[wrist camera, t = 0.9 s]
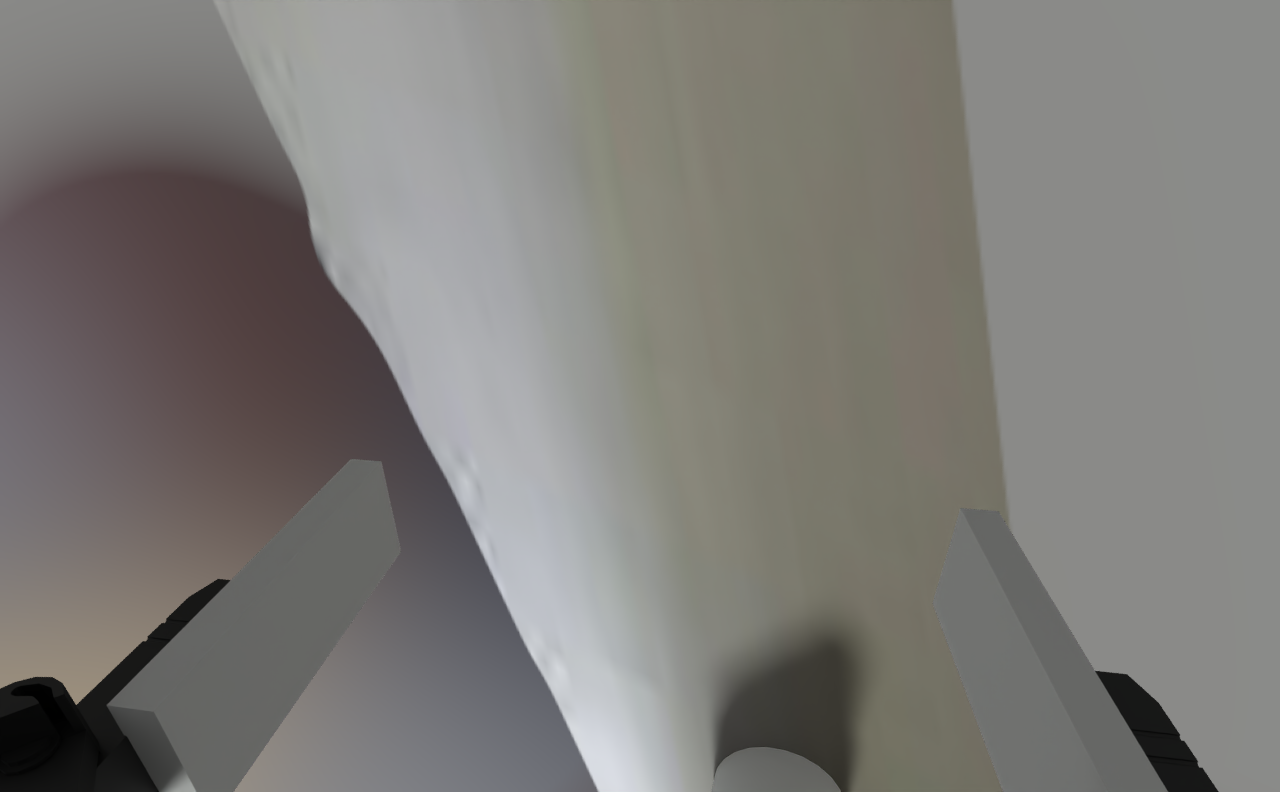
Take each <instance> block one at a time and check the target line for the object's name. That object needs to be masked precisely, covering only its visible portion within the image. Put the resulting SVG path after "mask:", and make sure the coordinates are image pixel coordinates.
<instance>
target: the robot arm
mask: <svg viewBox="0 0 1280 792" xmlns="http://www.w3.org/2000/svg"><path fill="white" fill-rule="evenodd" d="M400 552H401V549H400V545H399V540H398V535H397V531H396V526H395V522H394V517H393V513H392V509H391V503H390V499H389V494H388V490H387V485H386V481H385V477H384V472H383V467H382V463H381V462H380V461H367V460H354V459H351V460H350V461H349V462H348V463H347V464H346V465H345V466H344V467H343V468H342V469H341V470H340V471H339V472H338V473H337V474H336V475H335V476H334V477H333V478H332V479H331V480H330V481H329V482H328V483H327V484H326V485H325V486H324V487H323V488H322V489H321V490H320V491H319V492H318V493H317V494H316V495H315V496H314V497H313V498H312V499H311V500H310V501H309V502H308V503H307V504H306V505H305V506H304V507H303V508H302V509H301V510H300V511H299V512H298V513H297V514H296V515H295V516H294V517H293V518H292V519H291V520H290V521H289V522H288V523H287V524H286V525H285V526H284V527H283V528H282V529H281V530H280V531H279V532H278V533H277V534H276V535H275V536H274V537H273V538H272V539H271V540H270V541H269V542H268V544H266V545H265V547H263V548H262V550H260V552H258V553H257V554H256V555H255V556H254V557H253V559H251V561H249V562H248V563H247V564H246V565H245V567H244V568H243V569H242V570H241V571H240V572H239V573H238V574H237V575H236V576H235V577H234V578H233V579H232V580H223V579H217V580H216V581H214V582H213V583H211V584H209V585H208V586H206V587H204V588H203V589H201V590H200V591H198V592H196V593H195V594H193V595H191V596H190V597H189V598H188V599H186V600H185V601H184V602H183V603H182V604H181V605H180V606H179V607H178V608H177V609H176V610H175V611H174V612H173V613H172V614H171V615H170V616H169V617H168V618H167V619H166V622H165V623H161V625H159V626H158V628H156V629H155V630H154V631H153V632H152V633H151V634H150V635H149V636H148V640H147V641H146V642H145V641H143V642H142V643H141V644H139V645H138V647H136V648H135V649H134V650H133V652H131V653H130V654H129V655H128V656H127V657H126V658H125V659H124V660H123V661H122V662H121V663H120V664H119V665H118V666H117V667H116V668H115V669H113V670H112V671H111V672H110V674H108V675H107V676H106V677H105V678H104V679H103V680H102V681H101V682H100V683H99V684H98V685H97V686H96V687H95V688H94V689H93V690H92V691H91V692H89V693H88V694H87V695H86V696H85V697H84V699H82V700H81V701H80V702H79V703H78V704H77V705H76V704H75V703H74V701H73V699H72V698H71V697H70V695H69V693H68V691H67V690H66V688H65V687H64V685H63V683H61V682H60V681H58V680H56V679H55V678H53V677H34V678H30V679H26V680H22V681H18V682H14V683H12V684H10V685H8V686H5V687H3V688H1V689H0V792H233V791H234V790H235V789H236V788H237V786H238V784H239V783H240V782H241V780H242V779H243V777H244V776H245V775H246V773H247V772H248V770H249V769H250V767H251V766H252V765H253V763H254V762H255V760H256V759H257V757H258V756H259V754H260V753H261V751H262V750H263V749H264V747H265V746H266V744H267V743H268V742H269V740H270V738H271V737H272V736H273V734H274V733H275V732H276V730H277V729H278V727H279V726H280V724H281V723H282V722H283V720H284V719H285V717H286V716H287V714H288V713H289V712H290V710H291V709H292V707H293V706H294V704H295V703H296V701H297V700H298V699H299V697H300V696H301V694H302V693H303V691H304V690H305V688H306V687H307V686H308V684H309V683H310V681H311V680H312V679H313V677H314V676H315V674H316V673H317V671H318V670H319V668H320V667H321V666H322V664H323V663H324V661H325V660H326V658H327V657H328V656H329V654H330V652H331V651H332V650H333V648H334V647H335V645H336V644H337V643H338V641H339V640H340V638H341V637H342V635H343V634H344V633H345V631H346V630H347V628H348V627H349V625H350V624H351V623H352V621H353V619H354V618H355V617H356V615H357V614H358V612H359V611H360V610H361V608H362V607H363V605H364V604H365V602H366V601H367V600H368V598H369V597H370V595H371V594H372V592H373V591H374V590H375V588H376V587H377V585H378V584H379V582H380V581H381V580H382V578H383V577H384V575H385V574H386V572H387V571H388V569H389V568H390V567H391V565H392V564H393V562H394V561H395V559H396V558H397V557H398V555H399V554H400ZM933 606H934V608H935V611H936V614H937V616H938V619H939V622H940V624H941V627H942V630H943V632H944V635H945V638H946V641H947V643H948V646H949V649H950V651H951V654H952V657H953V659H954V662H955V665H956V667H957V670H958V673H959V675H960V678H961V681H962V683H963V686H964V689H965V691H966V694H967V697H968V699H969V702H970V705H971V707H972V710H973V713H974V715H975V718H976V721H977V723H978V726H979V729H980V731H981V734H982V737H983V739H984V742H985V745H986V747H987V750H988V753H989V755H990V758H991V761H992V763H993V766H994V769H995V771H996V774H997V777H998V779H999V782H1000V785H1001V787H1002V790H1003V792H1218V790H1217V789H1216V788H1215V786H1214V784H1213V783H1212V781H1211V780H1210V779H1209V777H1208V775H1207V774H1206V773H1205V771H1204V770H1203V768H1199V766H1198V764H1197V762H1198V761H1197V759H1196V758H1195V756H1194V755H1193V753H1192V752H1191V750H1190V749H1189V747H1188V746H1187V744H1186V743H1185V742H1184V741H1181V739H1180V734H1179V733H1178V731H1177V730H1176V728H1175V727H1174V725H1173V724H1172V722H1171V721H1170V719H1169V718H1168V716H1167V715H1166V713H1165V712H1164V710H1163V709H1162V707H1161V706H1160V704H1159V703H1158V702H1157V701H1156V700H1155V699H1154V698H1153V697H1151V696H1150V695H1149V694H1148V693H1147V692H1146V691H1145V690H1144V689H1143V688H1142V687H1140V686H1139V685H1138V684H1137V683H1136V682H1135V681H1134V680H1133V679H1131V678H1130V677H1129V676H1128V675H1127V674H1119V673H1109V672H1100V671H1095V670H1094V669H1093V667H1092V665H1091V664H1090V662H1089V660H1088V659H1087V657H1086V656H1085V654H1084V652H1083V650H1082V649H1081V647H1080V646H1079V644H1078V642H1077V640H1076V639H1075V637H1074V635H1073V634H1072V632H1071V630H1070V629H1069V627H1068V626H1067V624H1066V622H1065V621H1064V619H1063V617H1062V616H1061V614H1060V612H1059V611H1058V609H1057V607H1056V606H1055V604H1054V602H1053V601H1052V599H1051V597H1050V596H1049V594H1048V592H1047V591H1046V589H1045V587H1044V586H1043V584H1042V583H1041V581H1040V579H1039V577H1038V576H1037V574H1036V573H1035V571H1034V569H1033V568H1032V566H1031V564H1030V563H1029V561H1028V559H1027V558H1026V556H1025V554H1024V553H1023V551H1022V550H1021V548H1020V546H1019V544H1018V543H1017V541H1016V539H1015V538H1014V536H1013V534H1012V533H1011V531H1010V529H1009V528H1008V526H1007V525H1006V523H1005V521H1004V520H1003V518H1002V516H1001V515H1000V513H999V511H989V510H977V509H964V508H961V509H960V512H959V515H958V519H957V522H956V526H955V529H954V532H953V536H952V539H951V543H950V546H949V549H948V553H947V556H946V560H945V563H944V566H943V570H942V573H941V577H940V580H939V583H938V587H937V590H936V594H935V597H934V600H933Z"/></svg>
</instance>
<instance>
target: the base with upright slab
mask: <svg viewBox="0 0 1280 792" xmlns="http://www.w3.org/2000/svg"><path fill="white" fill-rule="evenodd" d="M711 792H841V790H840V788H839V787H838V786H837V784H836V783H835V782H834V780H833V779H832V777H831V776H830V775H828V774H827V773H826V772H825V771H824V770H823V769H821V768H820V767H819V766H818V765H816V764H815V763H813V762H811V761H809V760H808V759H806V758H804V757H803V756H800V755H797V754H795V753H792V752H789V751H786V750H782V749H776V748H770V747H752V748H747V749H743V750H739V751H736V752H734V753H732V754H731V755H729V756H728V757H726V758H724V760H723V761H722V762H721V763H720V765H719V766H718V767H717V770H716V773H715V777H714V781H713V786H712V791H711Z"/></svg>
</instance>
